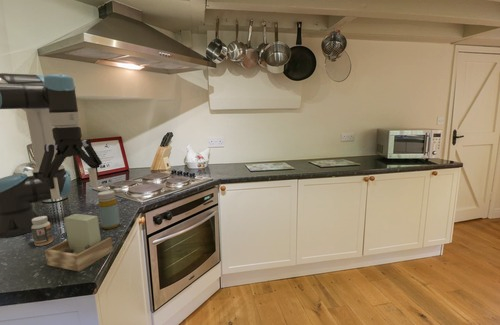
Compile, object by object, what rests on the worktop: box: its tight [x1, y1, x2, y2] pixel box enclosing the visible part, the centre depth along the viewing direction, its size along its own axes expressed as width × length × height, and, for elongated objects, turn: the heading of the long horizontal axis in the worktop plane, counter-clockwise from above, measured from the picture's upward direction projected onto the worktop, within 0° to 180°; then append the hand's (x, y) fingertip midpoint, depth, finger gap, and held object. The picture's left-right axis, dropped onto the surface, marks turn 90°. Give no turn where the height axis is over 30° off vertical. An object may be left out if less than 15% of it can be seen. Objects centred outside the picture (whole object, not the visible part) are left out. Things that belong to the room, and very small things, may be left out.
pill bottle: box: [31, 215, 54, 247], centre depth 103 cm, size 6×6×10 cm
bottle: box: [97, 189, 121, 230], centre depth 116 cm, size 7×7×15 cm
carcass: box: [43, 236, 114, 272], centre depth 91 cm, size 14×13×5 cm
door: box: [63, 213, 102, 253], centre depth 91 cm, size 10×5×12 cm, turn 71°
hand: (76, 192), depth 89 cm, fingers open, 13 cm apart
